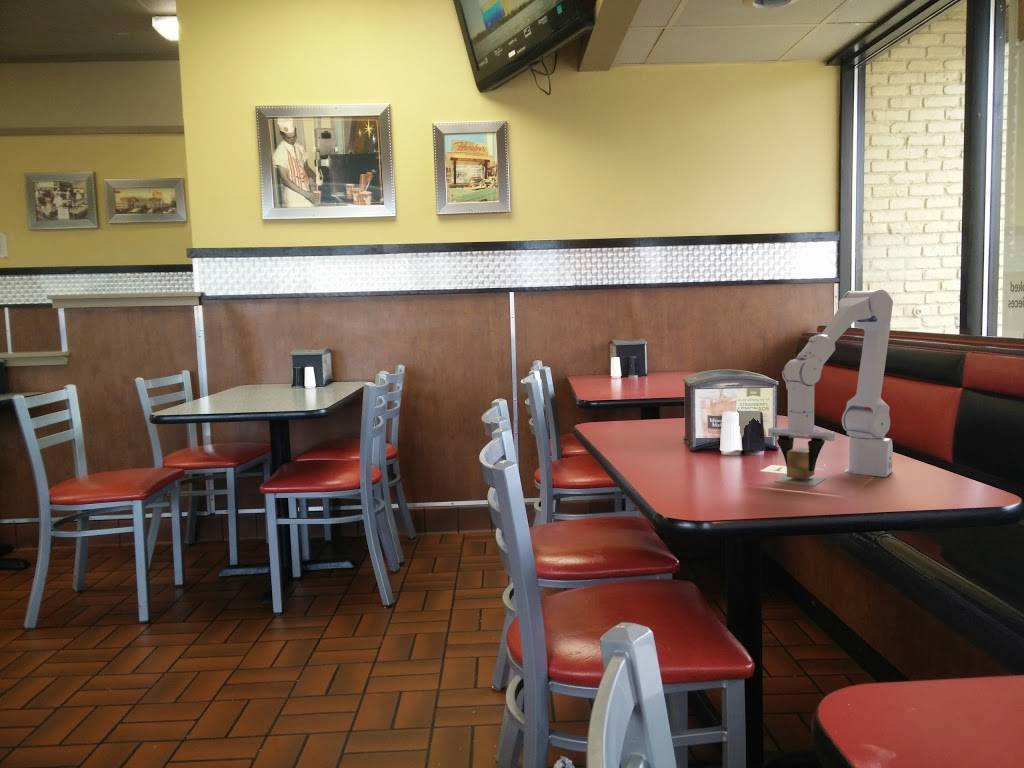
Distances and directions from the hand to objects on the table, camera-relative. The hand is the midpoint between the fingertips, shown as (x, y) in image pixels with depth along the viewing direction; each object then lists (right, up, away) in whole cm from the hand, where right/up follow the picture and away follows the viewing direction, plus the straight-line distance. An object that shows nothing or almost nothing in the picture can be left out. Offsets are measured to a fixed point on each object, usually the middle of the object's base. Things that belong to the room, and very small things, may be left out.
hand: (800, 469), depth 179 cm
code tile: (+1, -2, +12) cm, 13 cm away
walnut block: (0, -2, 0) cm, 2 cm away
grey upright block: (0, 0, +40) cm, 40 cm away
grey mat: (0, -3, 0) cm, 3 cm away
